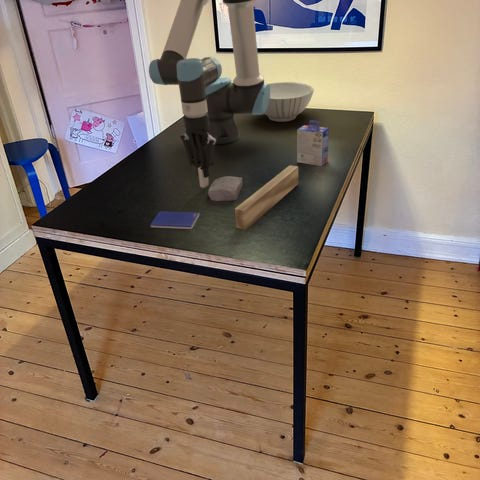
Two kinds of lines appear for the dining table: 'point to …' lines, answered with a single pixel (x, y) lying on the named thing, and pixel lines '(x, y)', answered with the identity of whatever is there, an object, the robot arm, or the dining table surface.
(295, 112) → the decorative bowl
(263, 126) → the dining table surface
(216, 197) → the stone block
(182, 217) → the hard drive
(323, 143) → the ink cartridge box
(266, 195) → the oak board
